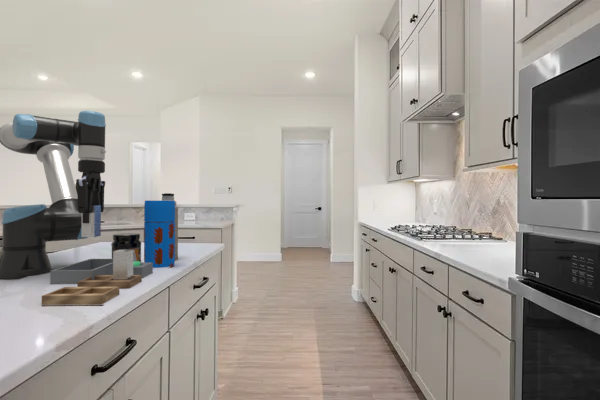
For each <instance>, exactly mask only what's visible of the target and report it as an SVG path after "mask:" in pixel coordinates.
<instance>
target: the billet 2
mask: <svg viewBox="0 0 600 400" xmlns="http://www.w3.org/2000/svg"><path fill="white" fill-rule="evenodd" d="M132 278H133V250H132V249H128V250H117V251H113V280H130V279H132Z"/></svg>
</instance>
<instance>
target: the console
mask: <svg viewBox="0 0 600 400" xmlns="http://www.w3.org/2000/svg"><path fill="white" fill-rule="evenodd" d="M153 273H154V271H153V263H144V262H141V263H140V266H133V275H142V279H144V278H145V277H148V276H149V275H151V274H153Z"/></svg>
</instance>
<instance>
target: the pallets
mask: <svg viewBox="0 0 600 400" xmlns="http://www.w3.org/2000/svg"><path fill="white" fill-rule="evenodd" d="M142 279H143V278H142V275H133V278H132V279H130V280H113V275H97V276H95V280H92V277H89V278H86V279H83V280H81V281H78V282H77V284H76V285H77V286H63V287H61V288H58V289H56V290H53V291H51V292H48V293H45V294H43V295H41V307H103V306H104V304H106V303H107V302H109V301H110V300H112V299H113V298H116V297H117V296H119V295H120V290H121V289H122V290H123V289H125V290H127V289H131V288H132V287H134V286H136V285H138V284H140V283H142V281H143V280H142Z"/></svg>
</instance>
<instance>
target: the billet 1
mask: <svg viewBox="0 0 600 400" xmlns="http://www.w3.org/2000/svg"><path fill="white" fill-rule="evenodd" d="M90 213H92V234H82V231H81V237H88V238H97V237H101V235H102V234H101V233H102V230H101V229H102V228H101V226H102V225H101V224H102V223H101V221H102V220H101V218H102V212H101V205H91V212H90Z"/></svg>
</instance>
